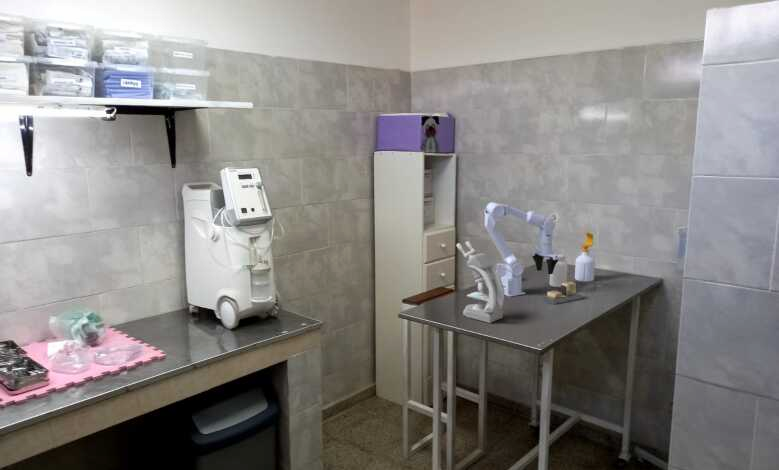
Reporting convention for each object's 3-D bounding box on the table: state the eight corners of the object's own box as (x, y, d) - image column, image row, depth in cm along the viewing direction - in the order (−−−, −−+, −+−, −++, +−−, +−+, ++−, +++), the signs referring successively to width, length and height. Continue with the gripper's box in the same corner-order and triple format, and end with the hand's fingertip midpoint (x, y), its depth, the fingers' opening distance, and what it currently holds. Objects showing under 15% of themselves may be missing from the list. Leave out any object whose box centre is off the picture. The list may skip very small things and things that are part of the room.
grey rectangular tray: (553, 304, 241) (553, 299, 240) (543, 300, 247) (543, 295, 246) (581, 299, 248) (581, 294, 247) (570, 295, 254) (570, 290, 253)
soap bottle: (571, 278, 283) (572, 231, 278) (584, 276, 286) (586, 229, 282) (583, 282, 274) (585, 233, 270) (597, 280, 278) (600, 232, 274)
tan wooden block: (566, 298, 246) (566, 285, 245) (560, 296, 249) (560, 283, 248) (575, 296, 248) (575, 283, 247) (569, 294, 251) (570, 281, 250)
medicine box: (511, 280, 283) (512, 263, 281) (512, 282, 278) (513, 265, 277) (496, 279, 284) (496, 263, 282) (496, 282, 279) (497, 265, 278)
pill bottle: (568, 287, 266) (569, 257, 264) (552, 287, 267) (552, 257, 264) (564, 283, 274) (565, 253, 272) (547, 283, 275) (548, 253, 272)
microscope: (469, 308, 238) (469, 239, 232) (506, 318, 224) (507, 245, 219) (453, 314, 230) (453, 243, 225) (490, 324, 217) (491, 249, 212)
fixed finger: (554, 301, 242) (555, 294, 242) (547, 298, 246) (547, 291, 246) (562, 299, 244) (562, 293, 244) (554, 296, 248) (555, 290, 248)
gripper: (563, 245, 252) (562, 274, 254) (541, 240, 265) (541, 267, 267) (551, 246, 249) (550, 276, 251) (530, 241, 262) (529, 269, 264)
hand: (544, 272), depth 259 cm, fingers open, 7 cm apart
